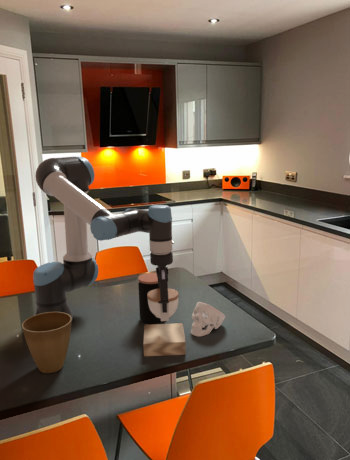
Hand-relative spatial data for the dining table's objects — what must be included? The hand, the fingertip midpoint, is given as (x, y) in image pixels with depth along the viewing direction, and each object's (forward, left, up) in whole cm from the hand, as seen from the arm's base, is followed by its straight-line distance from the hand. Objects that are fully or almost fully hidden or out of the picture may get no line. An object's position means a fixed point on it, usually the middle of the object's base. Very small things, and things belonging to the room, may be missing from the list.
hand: (163, 313), depth 139 cm
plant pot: (-37, -9, -12) cm, 40 cm away
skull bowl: (+17, +10, -12) cm, 23 cm away
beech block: (0, 0, -12) cm, 12 cm away
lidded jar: (0, 0, -1) cm, 1 cm away
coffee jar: (-3, +21, -12) cm, 25 cm away
